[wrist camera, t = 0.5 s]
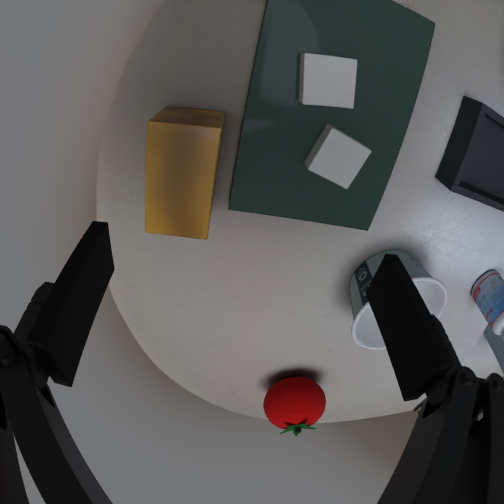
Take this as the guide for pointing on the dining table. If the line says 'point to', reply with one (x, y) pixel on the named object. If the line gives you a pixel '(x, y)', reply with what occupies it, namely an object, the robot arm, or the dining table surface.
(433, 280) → the food container
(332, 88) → the grey square block
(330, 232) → the dining table surface
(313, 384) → the tomato
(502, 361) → the spray bottle
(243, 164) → the chalkboard
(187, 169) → the yellow rectangular block
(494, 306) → the pill bottle
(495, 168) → the tray
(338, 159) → the white square block
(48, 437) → the robot arm
